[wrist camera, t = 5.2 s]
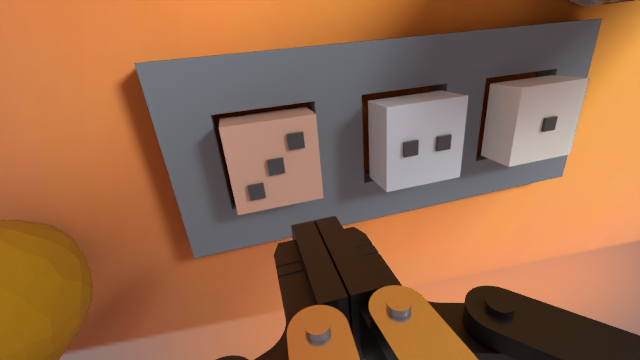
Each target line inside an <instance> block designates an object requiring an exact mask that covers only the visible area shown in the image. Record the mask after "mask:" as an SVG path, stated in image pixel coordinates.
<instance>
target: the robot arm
mask: <svg viewBox="0 0 640 360" xmlns="http://www.w3.org/2000/svg"><path fill="white" fill-rule="evenodd" d="M291 230H292V237H293V240H292V241H287V242H283V243H279V244H278V246H277V248H276V251H275V253H274V258H275V263H276V269H277V274H278V280H279V285H280V291H281V296H282V301H283V307H284V312H285V317H286V327H285V331H284V333H283V335H282V337H281V338H280V340H279V341H278V342H277V343H276V345H274V346H273V347H272V348H271V349H270V350H268V351H267V352H266V353H264V354H262V355H261V356H259V357H258V358H256V359H255V360H640V336H639V335H636V334H633V333H630V332H628V331H624V330H622V329H619V328H616V327H613V326H610V325H607V324H605V323H602V322H599V321H596V320H593V319H590V318H587V317H584V316H581V315H578V314H576V313H573V312H570V311H567V310H564V309H561V308H558V307H555V306H553V305H550V304H547V303H544V302H541V301H538V300H535V299H532V298H529V297H526V296H524V295H521V294H518V293H515V292H512V291H509V290H506V289H503V288H500V287H495V286H480V287H476V288H473V289H472V290H470V291H469V292H468V293H467V295H466V298H465V303H434V302H429V301H427V300H426V299H425V298H424V297H423V296H422V295H421V294H419V293H418V292H417V291H415V290H413V289H411V288H408V287H404V286H402V285H401V284H400V282H399V281H398V279H397V278H396V277H395V275H394V274H393V272H392V271H391V269H390V268H389V267H388V265H387V264H386V262H385V261H384V260H383V258H382V257H381V255H380V254H378V251H377V250H376V248H375V247H374V246H373V245H372V243H371V241H370V240H369V238H368V237H367V236H366V234H365V233H363V232H361V231H360V230H358V229H356V228H355V227H351V228H346V229H343V227H342V225H341V224H340V222H339V220H338V219H337V217H336V216H331V217H327V218H322V219H317V220H314V222H313V221H308V222H303V223H298V224H294V225H291ZM217 360H248V359H246V358H244V357H241V356H226V357H222V358H219V359H217Z"/></svg>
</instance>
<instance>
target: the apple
mask: <svg viewBox="0 0 640 360" xmlns="http://www.w3.org/2000/svg"><path fill="white" fill-rule="evenodd" d="M91 300H92V280H91V272H90V269H89V266H88V263H87V261H86V258H85V257H84V255H83V253H82V252H81V250H80V249H79V247H78V246H77V244H76V243H75V241H74V240H73V239H72V238H71V237H70V236H68V235H67V234H65V233H63V232H61V231H60V230H58V229H56V228H55V227H53V226H48V225H43V224H38V223H32V222H26V221H19V220H1V221H0V360H59V359H60V357H61V356H62V355H63V353H64V352H65V350H66V349H67V347H68V346H69V344H70V343H71V341H72V340H73V339H74V337H75V336H76V334H77V333H78V331H79V330H80V328H81V326H82V324H83V322H84V320H85V317H86V315H87V312H88V309H89V306H90V303H91Z"/></svg>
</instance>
